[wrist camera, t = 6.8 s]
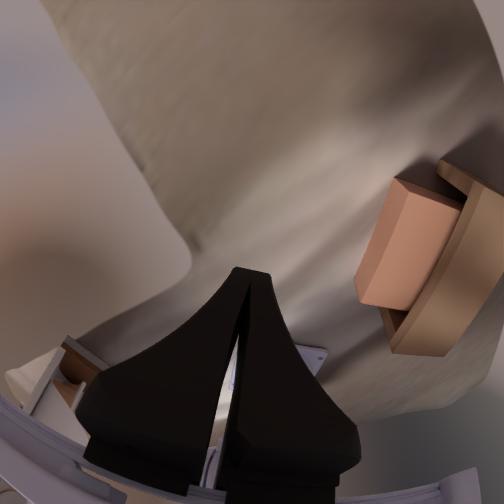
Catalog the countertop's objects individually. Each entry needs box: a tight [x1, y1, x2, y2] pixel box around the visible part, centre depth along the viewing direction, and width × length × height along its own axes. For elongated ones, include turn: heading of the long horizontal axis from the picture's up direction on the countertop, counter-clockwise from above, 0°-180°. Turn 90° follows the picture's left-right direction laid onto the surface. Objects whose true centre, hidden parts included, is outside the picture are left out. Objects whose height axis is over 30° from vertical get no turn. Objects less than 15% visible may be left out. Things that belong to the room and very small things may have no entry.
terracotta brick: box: [354, 177, 465, 311], centre depth 17 cm, size 8×7×3 cm
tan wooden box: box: [378, 159, 504, 357], centre depth 16 cm, size 12×5×5 cm, turn 170°
